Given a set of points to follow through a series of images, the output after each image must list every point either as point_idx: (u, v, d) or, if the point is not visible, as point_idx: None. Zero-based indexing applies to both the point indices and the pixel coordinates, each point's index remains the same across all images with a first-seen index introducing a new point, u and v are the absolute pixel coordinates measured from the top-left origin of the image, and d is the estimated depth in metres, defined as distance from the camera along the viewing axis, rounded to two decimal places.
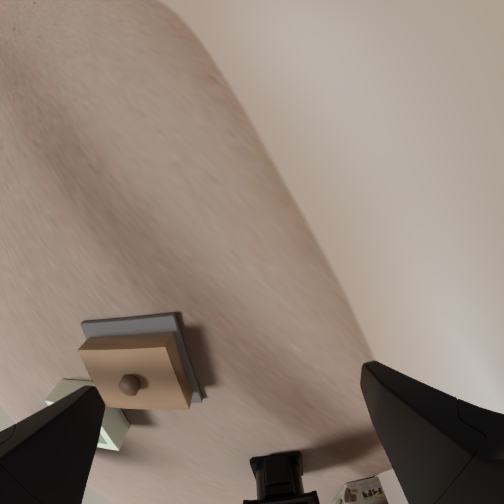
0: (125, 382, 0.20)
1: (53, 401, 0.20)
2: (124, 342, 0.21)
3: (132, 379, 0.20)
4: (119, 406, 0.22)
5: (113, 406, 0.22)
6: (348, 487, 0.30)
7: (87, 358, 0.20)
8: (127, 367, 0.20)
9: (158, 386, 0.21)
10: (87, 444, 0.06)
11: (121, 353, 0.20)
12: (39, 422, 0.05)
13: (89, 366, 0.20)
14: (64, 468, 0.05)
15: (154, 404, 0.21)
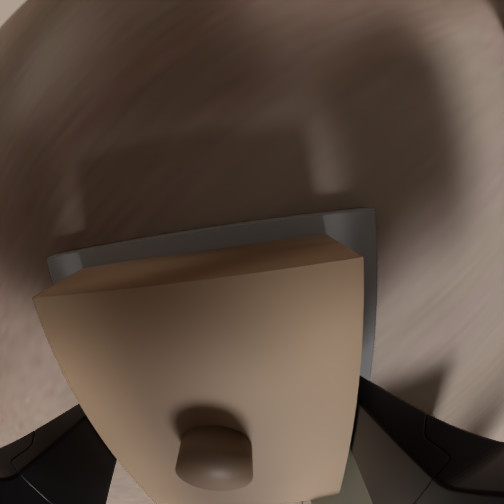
0: (184, 474, 0.05)
1: None
2: None
3: (182, 446, 0.05)
4: (336, 476, 0.06)
5: (336, 485, 0.07)
6: None
7: (169, 497, 0.07)
8: (153, 438, 0.06)
9: (214, 372, 0.05)
10: None
11: (107, 433, 0.06)
12: (60, 428, 0.05)
13: (194, 502, 0.07)
14: (87, 475, 0.05)
15: (331, 400, 0.05)
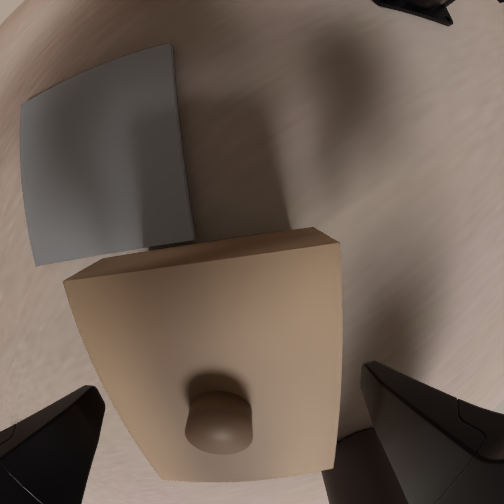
0: (192, 436, 0.06)
1: None
2: None
3: (190, 410, 0.06)
4: (329, 448, 0.08)
5: (330, 458, 0.08)
6: None
7: (176, 472, 0.08)
8: (165, 407, 0.07)
9: (220, 340, 0.06)
10: (87, 444, 0.06)
11: (123, 405, 0.07)
12: (39, 422, 0.05)
13: (198, 476, 0.08)
14: (64, 468, 0.05)
15: (319, 367, 0.07)
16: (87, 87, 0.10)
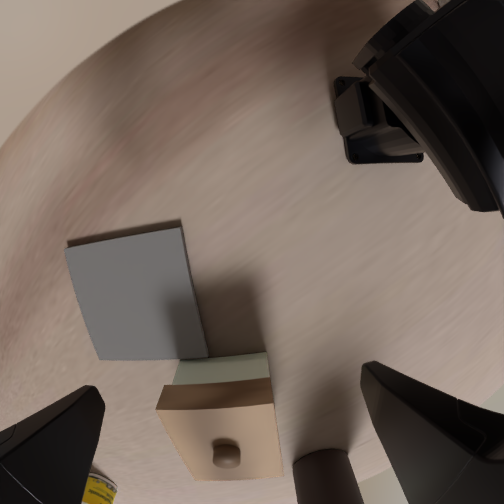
0: (215, 462, 0.14)
1: None
2: None
3: (214, 452, 0.14)
4: (279, 466, 0.15)
5: (281, 471, 0.16)
6: None
7: (203, 476, 0.16)
8: (202, 449, 0.15)
9: (226, 429, 0.14)
10: (87, 444, 0.06)
11: (181, 449, 0.15)
12: (39, 422, 0.05)
13: (215, 477, 0.16)
14: (64, 468, 0.05)
15: (268, 437, 0.15)
16: (121, 254, 0.18)
